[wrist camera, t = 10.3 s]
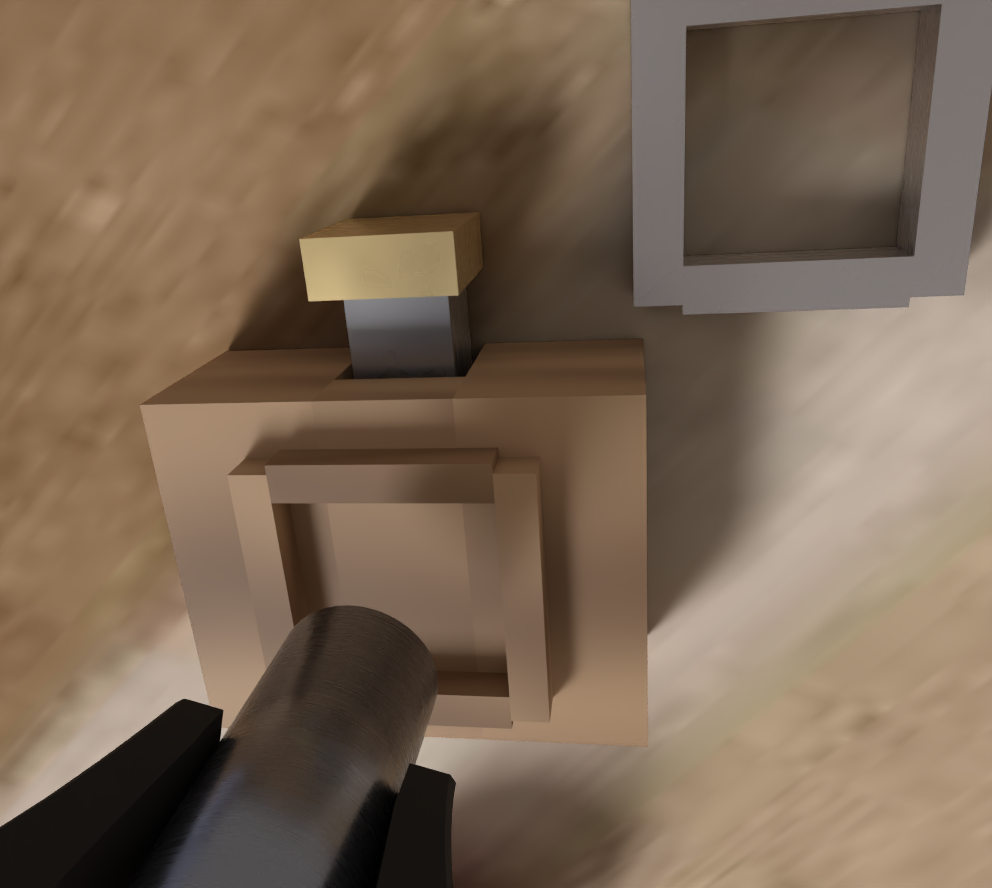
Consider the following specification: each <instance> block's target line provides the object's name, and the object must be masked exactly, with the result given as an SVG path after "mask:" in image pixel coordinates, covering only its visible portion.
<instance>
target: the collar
mask: <svg viewBox="0 0 992 888" xmlns="http://www.w3.org/2000/svg"><path fill="white" fill-rule="evenodd" d="M910 11H920V20H919V30H918V40H917V50H916V59H915V69H914V79H913V89H912V98H911V108H910V118H909V128H908V138H907V147H906V157H905V167H904V177H903V187H902V196H901V206H900V216H899V226H898V235H897V245H896V247H879V248H857V249H834V250H812V251H789V252H767V253H744V254H722V255H699V256H683V250H684V167H685V85H686V31H688V30H700V29H711V28H723V27H735V26H746V25H758V24H770V23H781V22H793V21H805V20H817V19H828V18H840V17H852V16H863V15H875V14H887V13H898V12H910ZM991 89H992V0H631V90H632V198H633V299H634V307H647V306H675V305H680V306H681V310H682V314H683V315H690V314H720V313H749V312H779V311H808V310H838V309H867V308H896V307H909V299H910V297H927V296H955V295H964V291H965V284H966V276H967V269H968V261H969V254H970V246H971V239H972V231H973V224H974V216H975V209H976V201H977V194H978V186H979V179H980V171H981V164H982V156H983V149H984V141H985V134H986V126H987V119H988V111H989V104H990V97H991Z"/></svg>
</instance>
